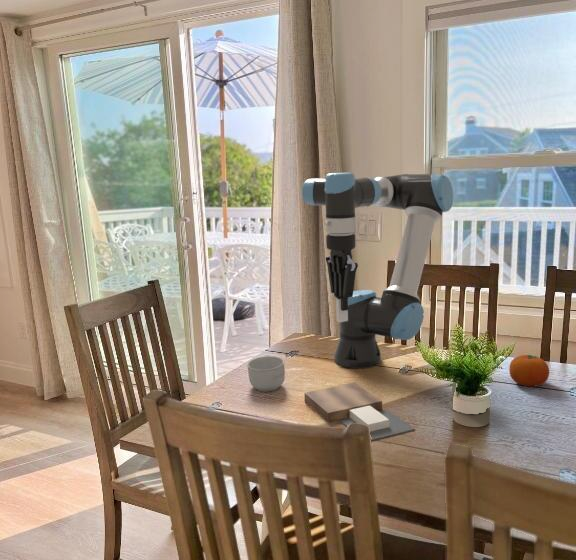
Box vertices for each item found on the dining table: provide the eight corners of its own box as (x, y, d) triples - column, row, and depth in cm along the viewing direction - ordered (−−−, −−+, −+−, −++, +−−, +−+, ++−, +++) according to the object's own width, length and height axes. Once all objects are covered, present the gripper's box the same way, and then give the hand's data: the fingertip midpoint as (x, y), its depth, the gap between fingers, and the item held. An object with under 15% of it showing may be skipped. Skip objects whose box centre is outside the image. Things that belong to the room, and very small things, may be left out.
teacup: (280, 396, 157) (280, 369, 155) (243, 394, 159) (242, 367, 157) (290, 377, 170) (289, 352, 169) (256, 375, 172) (255, 351, 171)
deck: (355, 390, 159) (355, 382, 159) (382, 409, 147) (382, 400, 146) (304, 401, 153) (304, 392, 153) (328, 422, 140) (327, 413, 140)
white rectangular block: (369, 412, 144) (369, 405, 144) (389, 427, 136) (389, 419, 136) (349, 417, 142) (349, 409, 142) (368, 432, 134) (368, 424, 134)
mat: (387, 410, 146) (387, 409, 146) (414, 429, 135) (414, 428, 135) (340, 421, 141) (340, 420, 141) (365, 442, 130) (365, 441, 130)
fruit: (533, 394, 154) (535, 366, 152) (501, 382, 162) (502, 356, 161) (555, 385, 159) (557, 358, 158) (523, 374, 168) (525, 348, 166)
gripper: (316, 232, 148) (318, 317, 153) (340, 238, 136) (342, 329, 142) (340, 229, 151) (342, 313, 156) (366, 235, 139) (367, 325, 145)
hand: (342, 320), depth 149 cm, fingers closed
